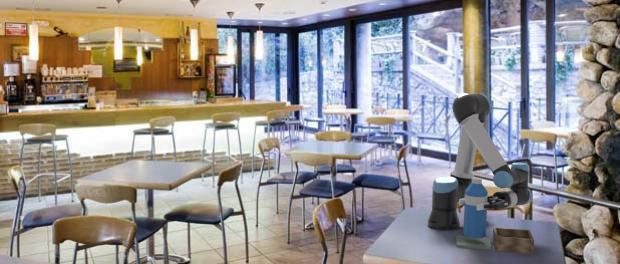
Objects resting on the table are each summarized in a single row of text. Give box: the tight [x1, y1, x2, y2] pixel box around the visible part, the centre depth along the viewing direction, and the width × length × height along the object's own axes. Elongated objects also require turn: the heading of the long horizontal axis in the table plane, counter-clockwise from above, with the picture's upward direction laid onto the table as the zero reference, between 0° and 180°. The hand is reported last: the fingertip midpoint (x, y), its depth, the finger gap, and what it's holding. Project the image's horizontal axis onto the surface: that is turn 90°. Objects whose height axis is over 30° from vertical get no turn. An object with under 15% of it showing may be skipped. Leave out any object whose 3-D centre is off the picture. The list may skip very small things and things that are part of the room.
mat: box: [456, 235, 492, 251], centre depth 235 cm, size 14×14×1 cm
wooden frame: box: [492, 226, 535, 255], centre depth 231 cm, size 15×15×6 cm
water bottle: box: [463, 177, 489, 238], centre depth 233 cm, size 9×9×25 cm
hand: (468, 204), depth 231 cm, fingers closed on water bottle, 9 cm apart
